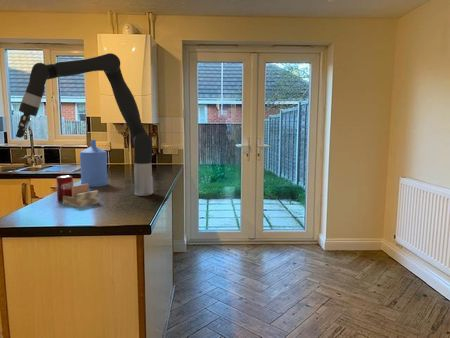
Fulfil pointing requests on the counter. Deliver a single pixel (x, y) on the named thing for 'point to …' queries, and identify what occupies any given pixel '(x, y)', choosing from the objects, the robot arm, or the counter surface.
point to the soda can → (64, 187)
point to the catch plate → (79, 189)
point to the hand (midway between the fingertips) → (19, 136)
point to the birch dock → (82, 199)
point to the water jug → (93, 166)
